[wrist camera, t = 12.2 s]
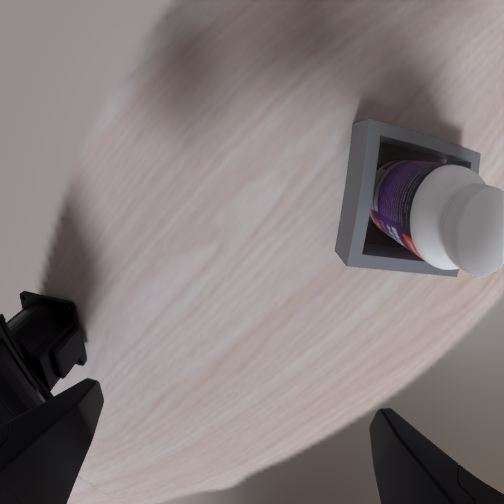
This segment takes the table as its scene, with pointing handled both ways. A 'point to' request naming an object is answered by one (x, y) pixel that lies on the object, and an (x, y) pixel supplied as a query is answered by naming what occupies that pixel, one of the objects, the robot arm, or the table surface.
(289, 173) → the table surface
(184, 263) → the table surface
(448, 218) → the pill bottle
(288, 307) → the table surface
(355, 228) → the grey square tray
